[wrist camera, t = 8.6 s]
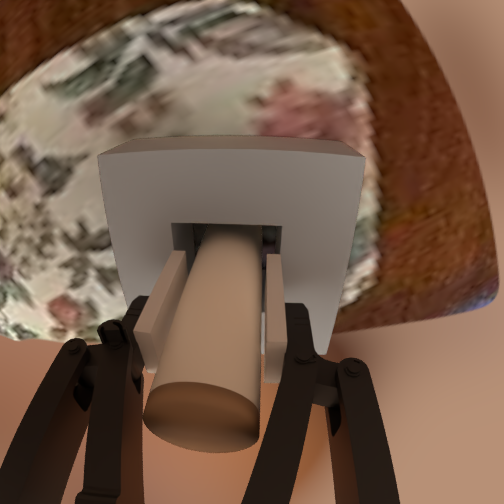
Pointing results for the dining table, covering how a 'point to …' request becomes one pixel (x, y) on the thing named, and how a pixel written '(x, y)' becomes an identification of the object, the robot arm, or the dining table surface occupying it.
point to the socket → (237, 209)
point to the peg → (213, 349)
